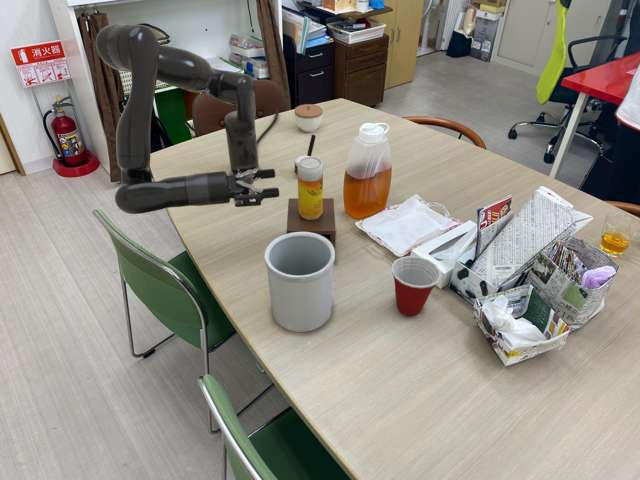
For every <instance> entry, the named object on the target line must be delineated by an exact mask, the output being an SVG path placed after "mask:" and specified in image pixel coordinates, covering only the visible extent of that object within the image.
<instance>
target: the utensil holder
mask: <svg viewBox="0 0 640 480" xmlns="http://www.w3.org/2000/svg"><path fill="white" fill-rule="evenodd" d="M263 258H264V263H265V267H266V271H267V273H266V274H267V279H268V281H267V282H268V289H269V290H268V291H269V296H270V305H271V309H272V314H273V317H274V319H275V321H276V322H277V324H279V326H281V327H282V328H284V329H286V330H289V331H291V332H295V333H296V332H297V333H305V332H312V331H314V330H317V329H319V328H321V327H322V326H323V325H325V324H326V323H327V321H328V320H329V319H330V317H331V314H332V309H333V308H332V306H333V296H334V295H333V292H334V291H333V290H334V288H333V286H334V266H335V259H336V249H335V250H334V247H333V245H332V244H331V242H330V241H329V240H327V239H326V238H325V237H323V236H321V235H319V234H315V233H311V232H293V233H289V234H287V233H285V234H282V235H280V236H278V237H276V238H275V239H273V240H272V241H271V242H270V243H269V244H268V245H267V246H266V248H265V250H264V255H263Z"/></svg>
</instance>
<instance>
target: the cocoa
mask: <svg viewBox="0 0 640 480" xmlns="http://www.w3.org/2000/svg"><path fill="white" fill-rule="evenodd" d="M316 137H317V135H316V134H311V137H310V141H309V145H308V150H307V153H306V155H300V156H298V157H296V158H294V174H296V175H297V176H298V169H297V166H298V164H299V161H300V160H301V159H303V158H305V157H312V153H313V149H314V145H315V141H316Z"/></svg>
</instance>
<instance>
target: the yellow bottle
mask: <svg viewBox="0 0 640 480" xmlns="http://www.w3.org/2000/svg"><path fill="white" fill-rule="evenodd" d="M297 169H298V175H297V197H298V204H299V214H300V215H301V216H302V217H303V218H305V219H308V220H314V219H317V218H318V217H319V216H320V215H321V214H322V212H323V197H324V165H323V163H322V160H321V159H320V158H318V157H316V156H315V157H314V156H311V157H305V158H303V159H301V160H300V161H299V164H298V166H297Z"/></svg>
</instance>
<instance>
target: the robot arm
mask: <svg viewBox="0 0 640 480" xmlns="http://www.w3.org/2000/svg"><path fill="white" fill-rule="evenodd" d="M159 43H160V42H159V39H158V37H157V35H156V33H155V32H154V31H153V30H152V29H151V28H150V27H149V26H147V25H143V24H130V23H129V24H128V23H113V24H109V25H106V26H104V27H103V28H101V29H100V30H99V32H97V35H96V38H95V47H96V52H97V53H98V56H99V58H101V60H102V61H103V62H104V64H105V65H107V66H109V68H111V69H114V70H116V71H119V72H129V73H130V75H131V86H130V91H129V92H130V93H129V95H128V96H129V97H128V99H127V102H126V105H125V107H124V109H123V111H122V113H121V115H120V117H119V119H118V122H117V126H116V131H115V146H116V147H115V151H116V162H117V166H118V167H119V168H120V178H121V185H120V186H119V187H118V188H117V190H116V192H115V195H114V201H115V202H114V203H115V204H116V206H117V208H118V209H119V210H120V211H122V212H124V213H126V214H129V215H141V214H146V213H152V212H155V211H156V212H157V211H160V210H164V209H169V208H184V207H204V206H212V205H213V206H214V205H223V204H230V202H231V200H233V202H234V207H236V208H243V207H258V206H261V205H262V201H264V200H265V199H274V198H279V197H280V188H279V187H270V188H268V187H267V188H258V187H256V186H255V185H254V182H255V181H256V182H257V180H264V179H265V180H267V179H274V178H276V169H274V168H266V169H265V168H264V169H260V165H259V153H258V144H259V142H260V141H261V139H262V138H263V137H264V136H265V135H266V134H267V133H268V132H269V131H270V129H271V128H272V127H273V126H274V124H275V123H276V121H277V119H278V117H279V111H280V108H279V107H276V109H275V110H276V111H275V116H274V118H273V120H272V122H271V123H270V124H269V126H267V128H266V129H265V130H264V131H263V133H262V134H261V135H260V136H259V137H258V138H257V131H256V114H257V109H256V106H257V105H256V86H255V81H254V79H253V77H252V76H251V75H250V74H248V73H247V74H246V73H241V72H237V71H231V70H222V69H218V68H214V67H212V66H211V64H210V63H209V61H208V60H207V59H205V58H203V57H202V56H201V55H199V54H196V53H195V52H192V51H189V50H187V49H183V48H179V47H174V46H169V45H163V44H159ZM157 81H159V82H162V83H164V84H167V85H170V86H172V87H175V88H177V89H181V90H184V91H187V92H190V93H193V94H194V93H195V94H205V95H208V97H209V96H210V97H212V98H213V99H214V100H217V101H219V102H221V103H224V104H227V105H232V106H236V110H233V111H231V112H229V113H227V114H226V115H225V117H224V128H225V136H226V142H227V150H228V158H229V165H230V175H229V174H228V173H227V171H224V170H223V171H211V172H201V173H200V172H199V173H192V174H188V175H179V176H170V177H165V178H163V179H161V180H155V181H153V177H152V170H151V123H152V114H153V108H154V107H153V106H154V102H155V101H154V100H155V96H156V95H155V94H156V90H157V89H156V88H157Z"/></svg>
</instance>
